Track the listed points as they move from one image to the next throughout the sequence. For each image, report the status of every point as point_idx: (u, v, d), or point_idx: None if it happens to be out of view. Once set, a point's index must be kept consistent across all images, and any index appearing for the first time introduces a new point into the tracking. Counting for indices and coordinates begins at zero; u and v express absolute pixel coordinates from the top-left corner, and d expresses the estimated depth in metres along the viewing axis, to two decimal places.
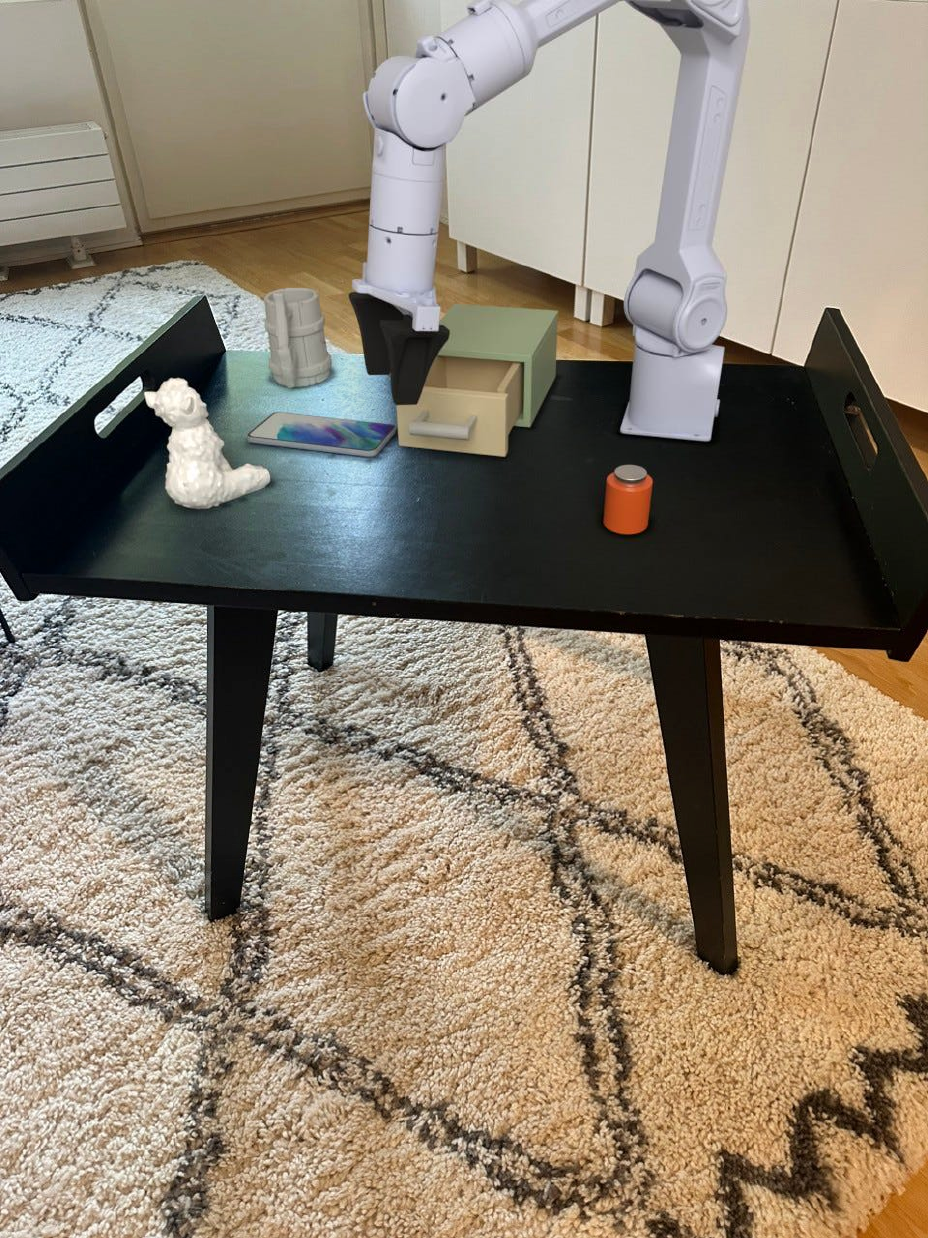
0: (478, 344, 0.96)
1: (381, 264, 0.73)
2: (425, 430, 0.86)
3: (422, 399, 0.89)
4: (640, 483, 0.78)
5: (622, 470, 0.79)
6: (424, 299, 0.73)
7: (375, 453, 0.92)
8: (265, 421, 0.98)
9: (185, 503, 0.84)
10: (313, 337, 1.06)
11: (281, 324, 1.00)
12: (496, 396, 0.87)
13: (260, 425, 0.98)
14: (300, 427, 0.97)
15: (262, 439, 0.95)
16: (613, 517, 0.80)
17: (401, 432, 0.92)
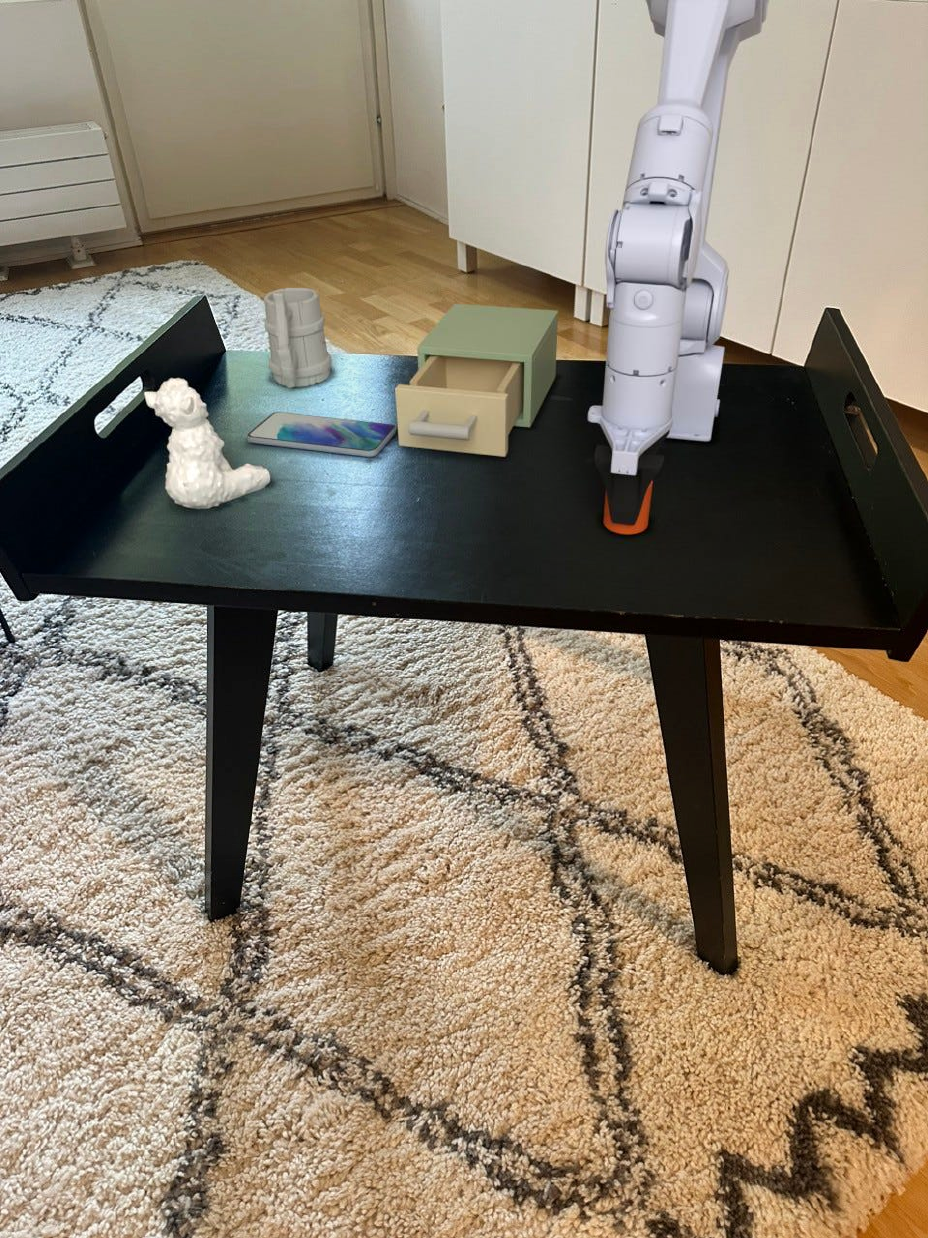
0: (478, 344, 0.96)
1: (607, 399, 0.73)
2: (425, 430, 0.86)
3: (422, 399, 0.89)
4: None
5: None
6: (635, 440, 0.71)
7: (375, 453, 0.92)
8: (265, 421, 0.98)
9: (185, 503, 0.84)
10: (313, 337, 1.06)
11: (281, 324, 1.00)
12: (496, 396, 0.87)
13: (260, 425, 0.98)
14: (300, 427, 0.97)
15: (261, 439, 0.95)
16: None
17: (401, 432, 0.92)
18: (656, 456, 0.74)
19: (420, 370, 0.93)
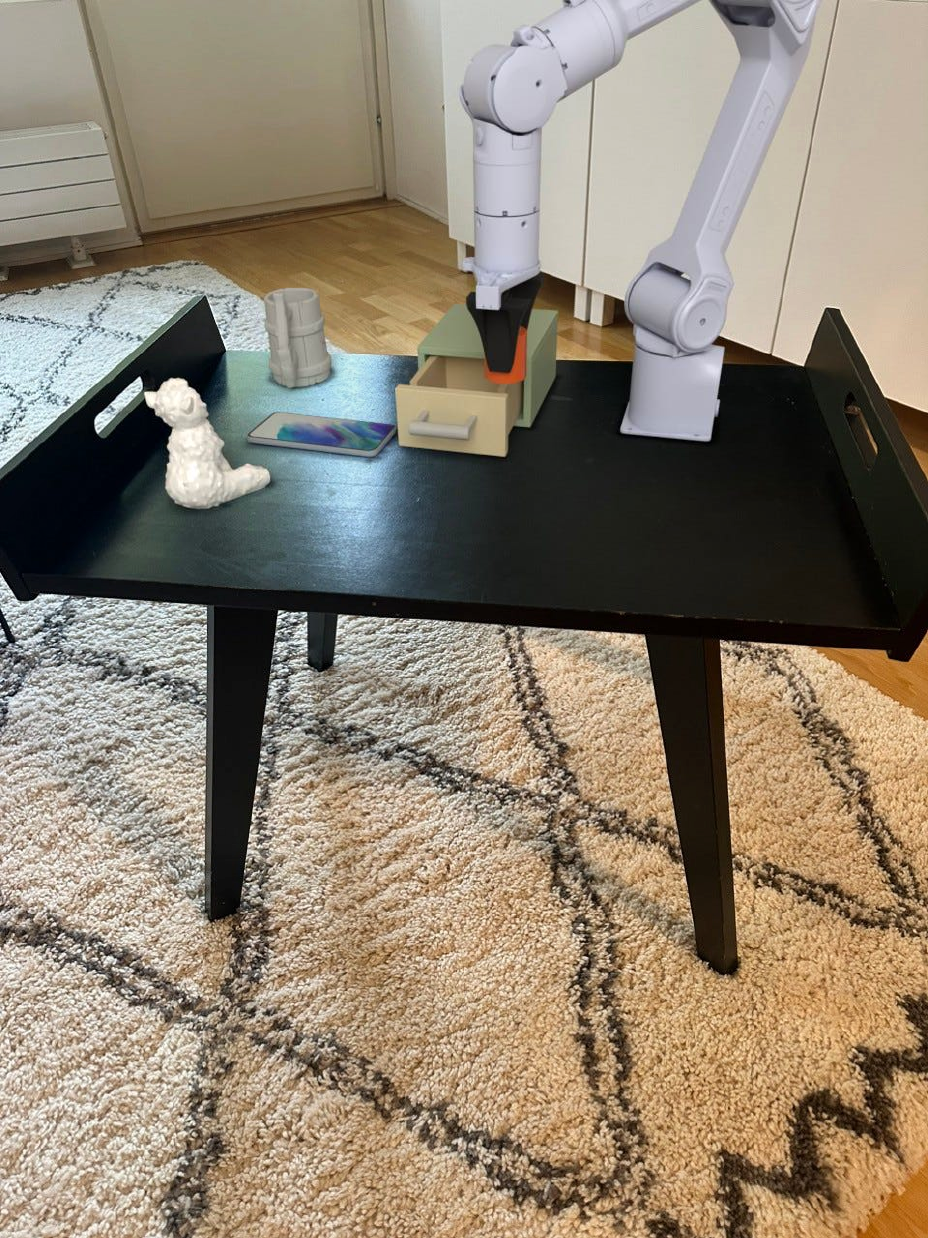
0: (478, 344, 0.96)
1: (476, 244, 0.78)
2: (425, 430, 0.86)
3: (422, 399, 0.89)
4: None
5: None
6: (500, 278, 0.76)
7: (375, 453, 0.92)
8: (265, 421, 0.98)
9: (185, 503, 0.84)
10: (313, 337, 1.06)
11: (281, 324, 1.00)
12: (496, 396, 0.87)
13: (260, 425, 0.98)
14: (300, 427, 0.97)
15: (261, 439, 0.95)
16: None
17: (401, 432, 0.92)
18: (523, 299, 0.79)
19: (420, 370, 0.93)
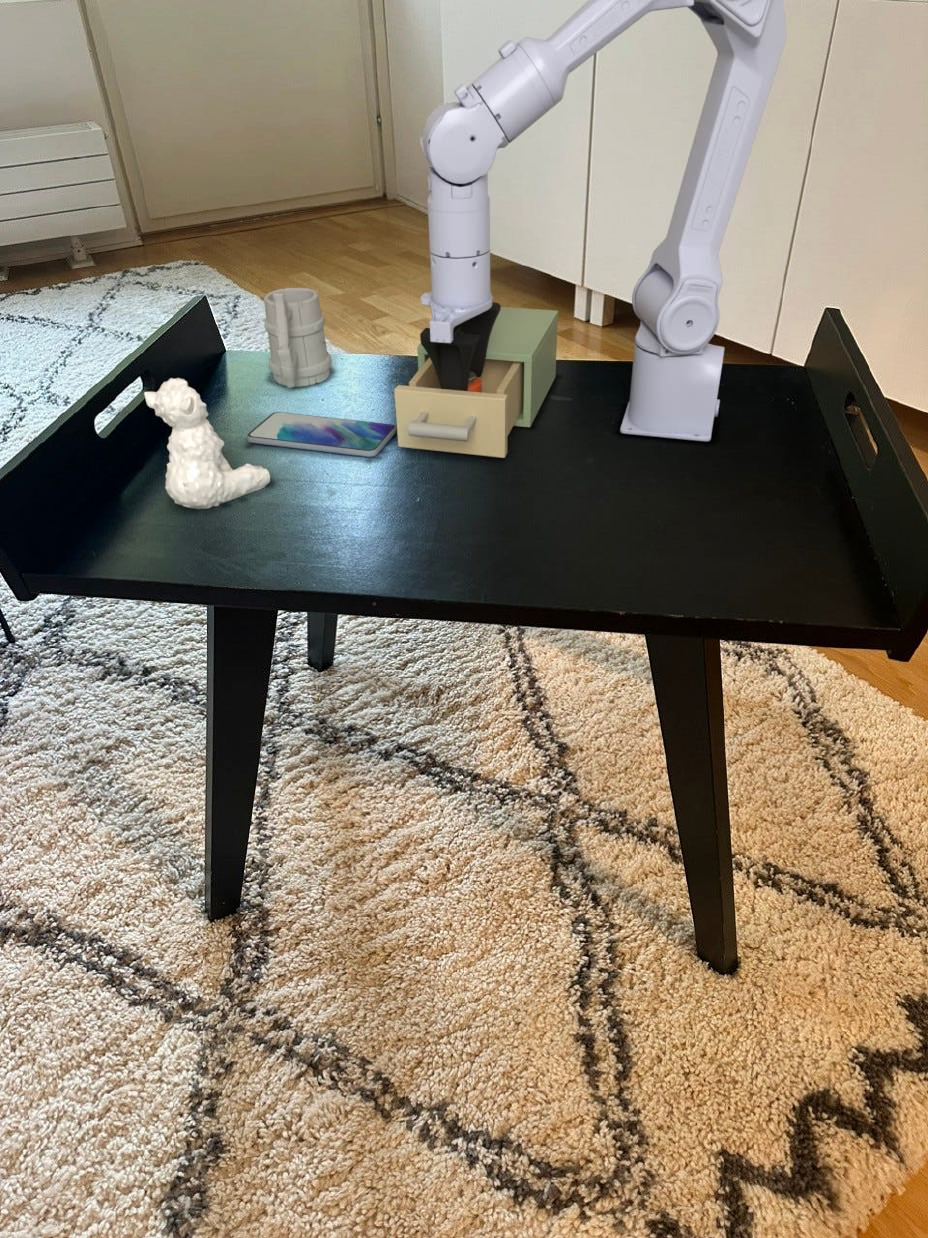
0: None
1: (432, 281, 0.85)
2: (425, 431, 0.86)
3: (421, 399, 0.89)
4: (469, 384, 0.91)
5: None
6: (453, 314, 0.83)
7: (375, 453, 0.92)
8: (265, 421, 0.98)
9: (185, 503, 0.84)
10: (313, 337, 1.06)
11: (281, 324, 1.00)
12: (495, 397, 0.87)
13: (260, 425, 0.98)
14: (300, 427, 0.97)
15: (261, 439, 0.95)
16: None
17: (400, 433, 0.92)
18: (473, 335, 0.85)
19: (419, 371, 0.93)
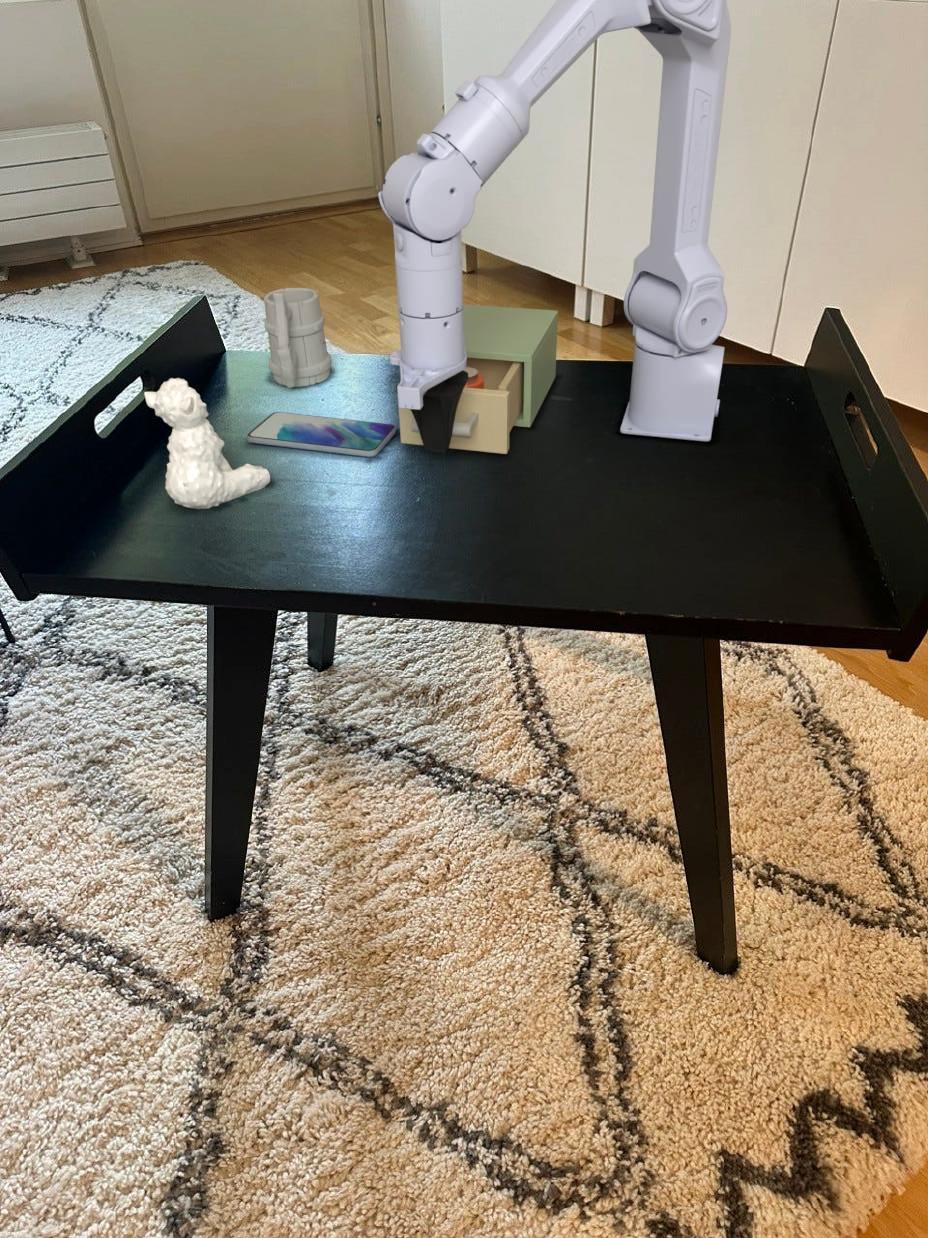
0: (478, 344, 0.96)
1: (401, 341, 0.79)
2: None
3: None
4: (471, 380, 0.92)
5: None
6: (423, 378, 0.77)
7: (375, 453, 0.92)
8: (265, 421, 0.98)
9: (185, 503, 0.84)
10: (313, 337, 1.06)
11: (281, 324, 1.00)
12: (497, 393, 0.88)
13: (260, 425, 0.98)
14: (300, 427, 0.97)
15: (261, 439, 0.95)
16: None
17: (403, 429, 0.92)
18: (454, 386, 0.81)
19: None
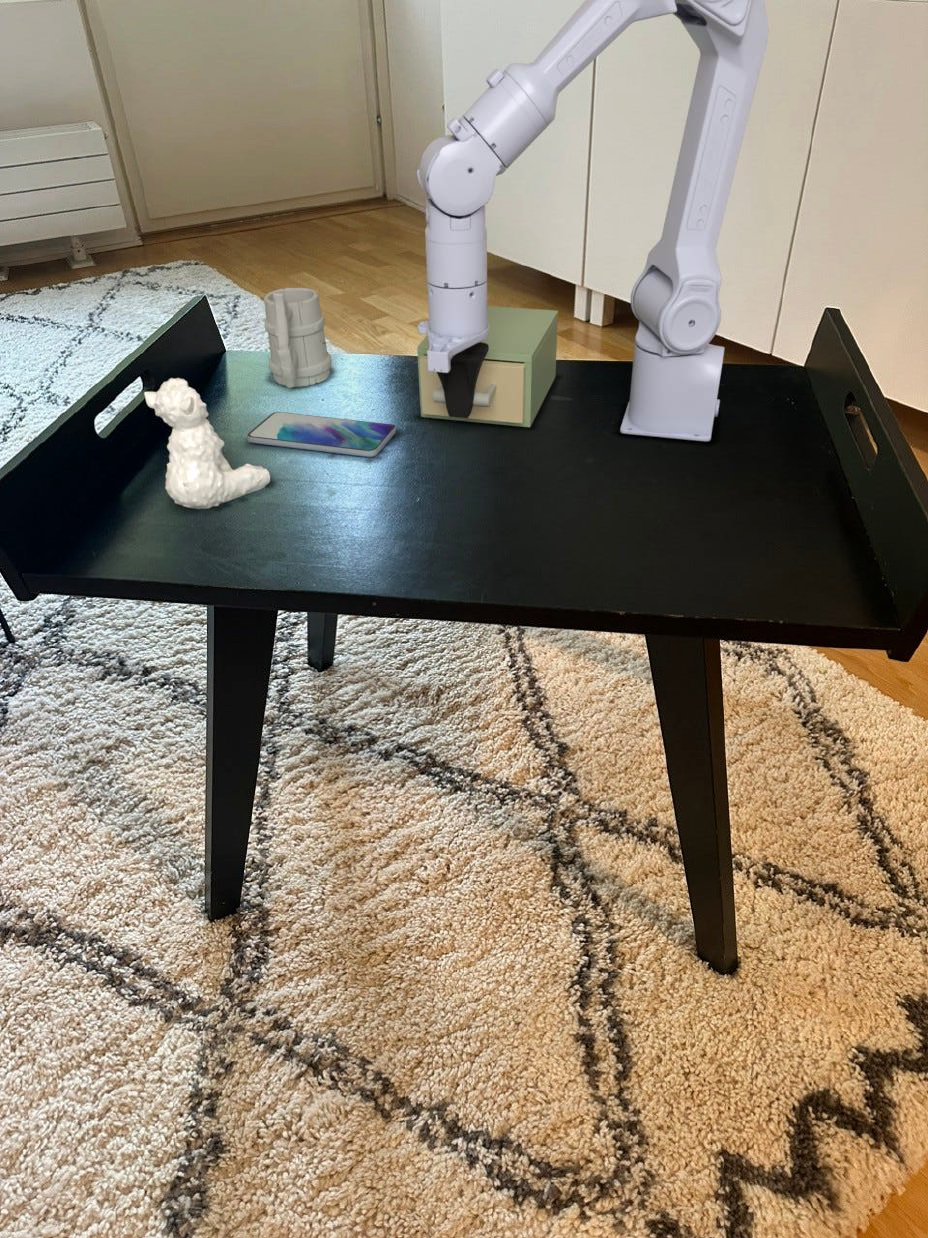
0: None
1: (430, 311, 0.86)
2: None
3: None
4: None
5: None
6: (450, 344, 0.84)
7: (375, 453, 0.92)
8: (265, 421, 0.98)
9: (185, 503, 0.84)
10: (313, 337, 1.06)
11: (281, 324, 1.00)
12: (514, 365, 0.93)
13: (260, 425, 0.98)
14: (300, 427, 0.97)
15: (261, 439, 0.95)
16: None
17: (424, 401, 0.98)
18: None
19: None
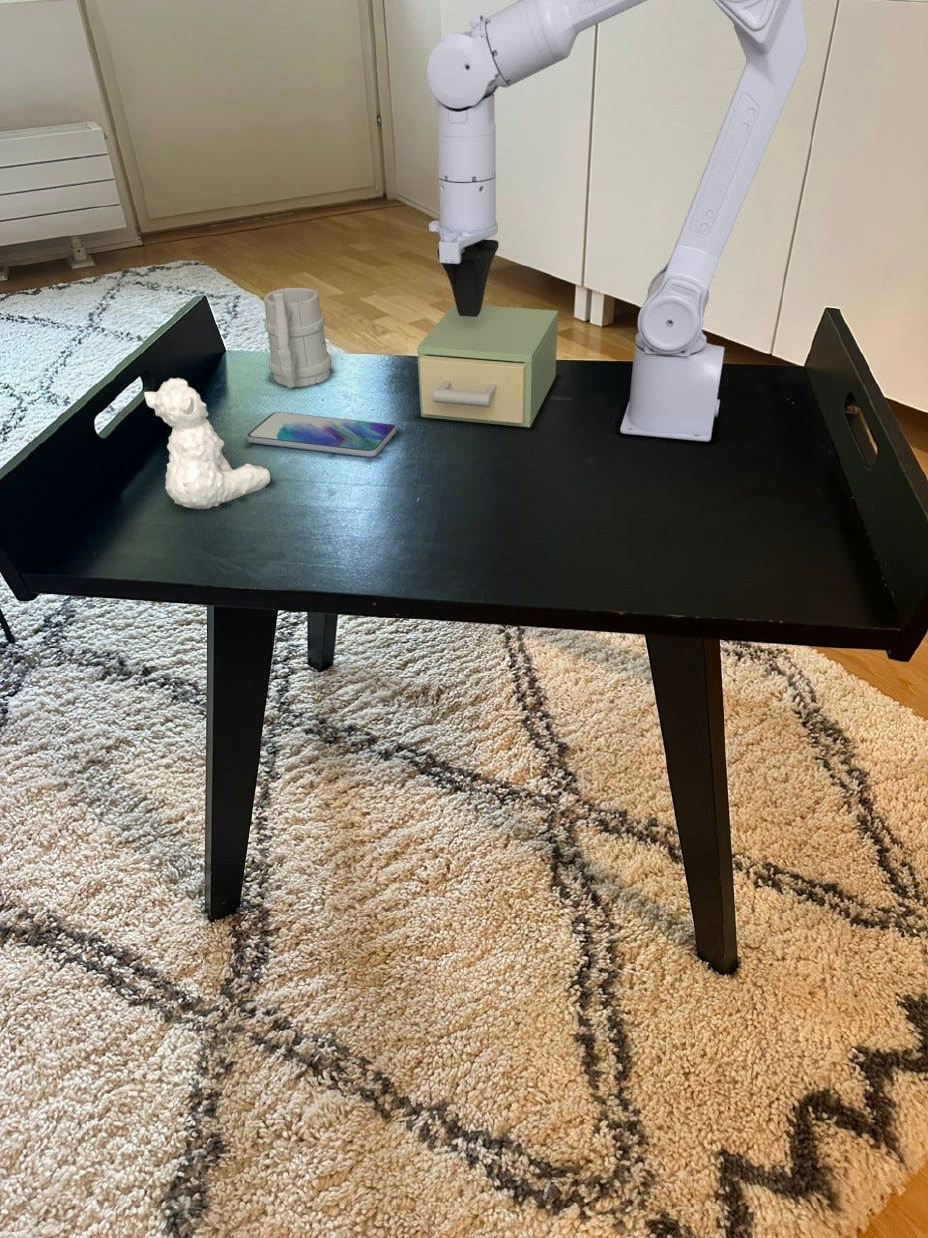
0: (478, 344, 0.96)
1: (441, 207, 0.89)
2: (449, 397, 0.92)
3: (445, 369, 0.95)
4: None
5: None
6: (460, 237, 0.88)
7: (375, 453, 0.92)
8: (265, 421, 0.98)
9: (185, 503, 0.84)
10: (313, 337, 1.06)
11: (281, 324, 1.00)
12: (514, 365, 0.93)
13: (260, 425, 0.98)
14: (300, 427, 0.97)
15: (262, 439, 0.95)
16: None
17: (424, 401, 0.98)
18: (487, 250, 0.92)
19: None
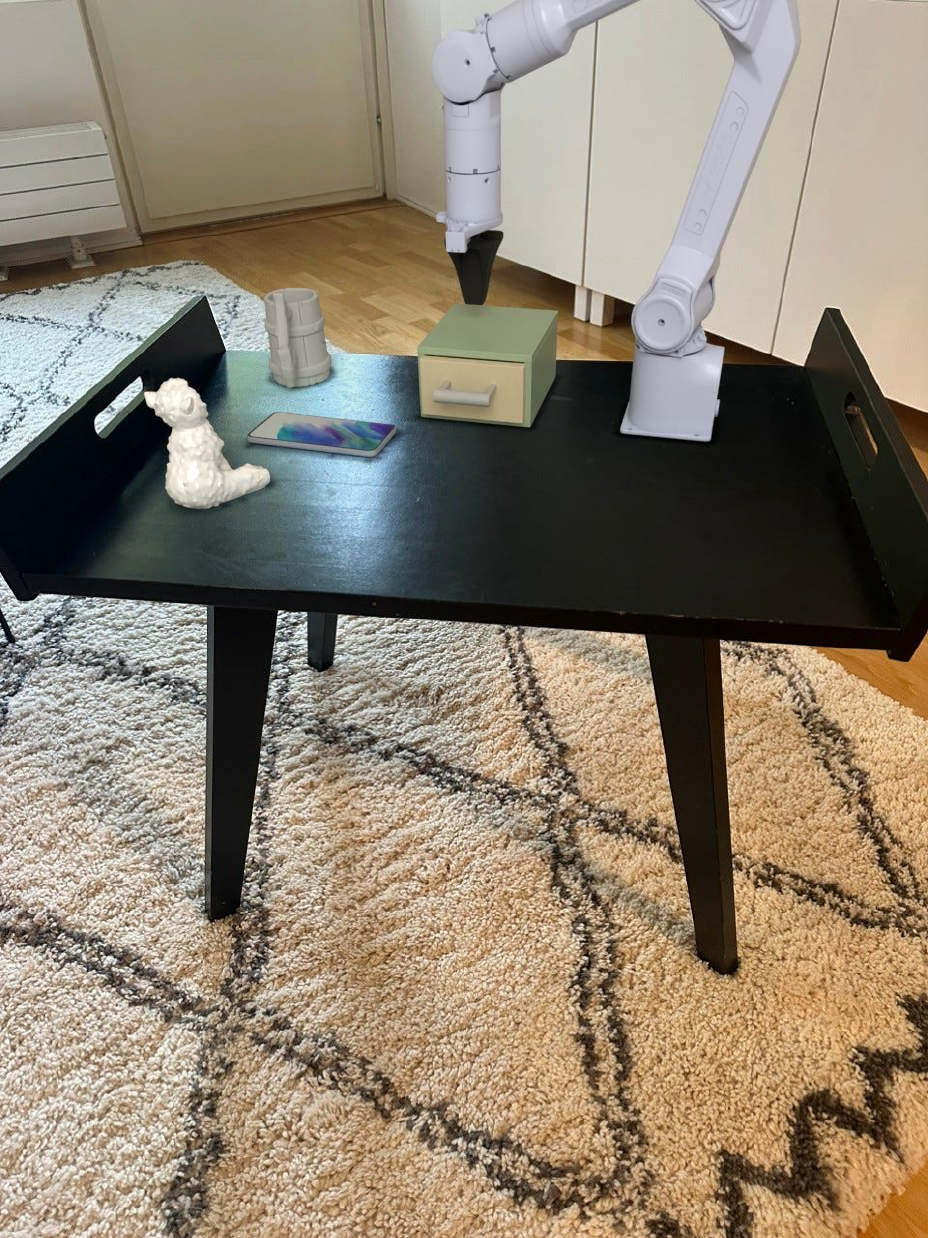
0: (478, 344, 0.96)
1: (447, 198, 0.92)
2: (449, 397, 0.92)
3: (445, 369, 0.95)
4: None
5: None
6: (466, 227, 0.91)
7: (375, 453, 0.92)
8: (265, 421, 0.98)
9: (185, 503, 0.84)
10: (313, 337, 1.06)
11: (281, 324, 1.00)
12: (514, 365, 0.93)
13: (260, 425, 0.98)
14: (300, 427, 0.97)
15: (262, 439, 0.95)
16: None
17: (424, 401, 0.98)
18: (492, 240, 0.95)
19: None
